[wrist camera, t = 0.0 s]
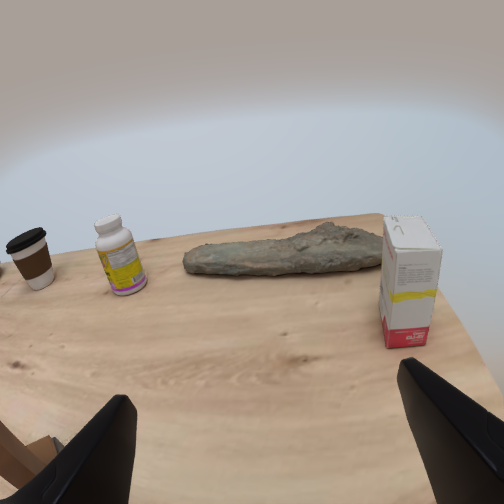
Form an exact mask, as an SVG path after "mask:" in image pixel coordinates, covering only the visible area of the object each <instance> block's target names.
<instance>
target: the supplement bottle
mask: <svg viewBox="0 0 504 504" xmlns="http://www.w3.org/2000/svg"><path fill="white" fill-rule="evenodd" d="M121 224H122V220H121V217H120V215H119V214H114V215H110V216H107V217H104V218H102V219H100V220H98V221H97V222H95V224H94V227H95V230H96V231H97V233H98V234H99V237H98V238H97V240H96V243H95V246H96V249H97V252H98V255H99V257H100V260H101V263H102V265H103V268H104V270H105V273H106V275H107V278H108V280H109V283H110V285H111V288H112V290H113V292H114V293H115V294H117V295H129V294H132V293H135V292H137V291H138V290H140V289H141V288H142V287H143V286H144V285H145V284H146V281H147V278H146V275H145V272H144V269H143V266H142V263H141V260H140V258H139V255H138V252H137V249H136V246H135V243H134V240H133V237H132V233H131V231H130V230H129V229H127V228H125V227H122V225H121Z"/></svg>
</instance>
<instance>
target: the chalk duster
mask: <svg viewBox="0 0 504 504" xmlns="http://www.w3.org/2000/svg"><path fill="white" fill-rule="evenodd" d="M64 447H65V446H64V445H63V444H62V443H61V442H60V441H59V440H58V439H57V438H56V437H53V438H51V437H50V436H49V435H48V436H46V437H44V438H42V439H39V440H37V441H35V442H33V443H31V444H29V445H27V446H25V445H24V444H23V443H22V442H21V441H19V440H18V439H17V438H16V437H15V436H14V435H13V434H12V433H11V432H10V430H9V429H8V428H7V427H6V426H5V425H4V424H3V423H2V422H1V421H0V476H1V477H3V478H4V479H5V480H7V481H8V482H9V483H11V484H12V485H13V486H15V487H16V488H17V489H20V488H22V487H23V486H24V485H25V484H26V483H28V482H29V481H30V480H31V479H32V478H34V477H35V476H36V475H37V474H38V473H39V472H40V471H41V470H42V469H43V468H44V467H45V466H46V465H48V463H49V462H50V461H51V460H52V459H53V458H55V456H56V455H57V454H58V453H59V452H60V451H61V450H62V449H63V448H64Z"/></svg>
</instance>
